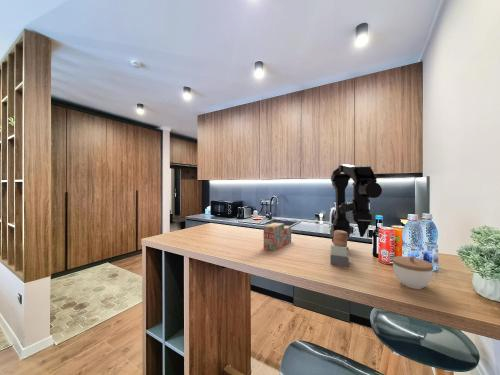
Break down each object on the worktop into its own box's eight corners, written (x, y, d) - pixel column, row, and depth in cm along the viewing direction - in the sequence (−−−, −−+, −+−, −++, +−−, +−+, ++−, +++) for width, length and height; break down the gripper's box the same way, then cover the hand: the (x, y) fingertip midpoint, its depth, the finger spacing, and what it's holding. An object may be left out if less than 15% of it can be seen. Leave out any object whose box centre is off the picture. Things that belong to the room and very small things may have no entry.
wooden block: (338, 240, 94) (339, 229, 93) (349, 244, 89) (350, 233, 88) (330, 242, 91) (330, 231, 90) (341, 247, 86) (341, 236, 85)
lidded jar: (407, 292, 65) (408, 262, 65) (385, 277, 76) (385, 251, 76) (442, 292, 65) (442, 262, 65) (415, 277, 76) (415, 251, 76)
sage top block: (331, 250, 94) (331, 242, 94) (346, 252, 92) (346, 243, 92) (331, 255, 89) (331, 245, 89) (346, 256, 86) (346, 247, 86)
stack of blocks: (281, 240, 127) (281, 220, 127) (291, 241, 123) (291, 221, 123) (263, 249, 110) (263, 225, 109) (273, 251, 106) (273, 227, 106)
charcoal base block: (331, 259, 95) (331, 250, 95) (348, 261, 92) (348, 252, 92) (330, 264, 88) (330, 255, 88) (348, 267, 85) (348, 257, 85)
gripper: (340, 195, 98) (340, 228, 98) (339, 197, 81) (338, 237, 81) (367, 195, 93) (367, 230, 94) (372, 198, 76) (372, 240, 77)
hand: (360, 234), depth 86 cm, fingers open, 9 cm apart
